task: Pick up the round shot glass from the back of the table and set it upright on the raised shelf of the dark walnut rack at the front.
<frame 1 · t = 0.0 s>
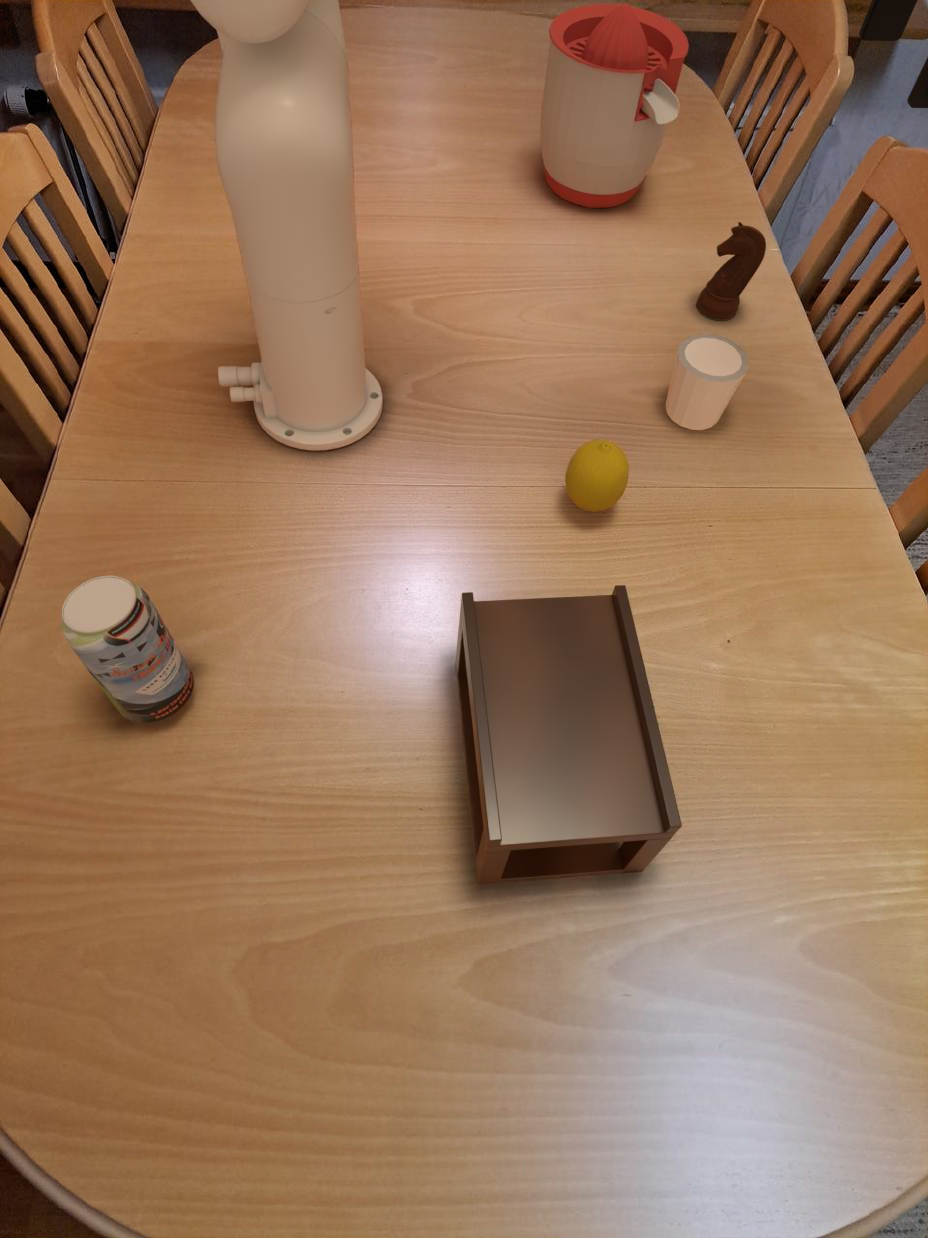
hand: (902, 70, 60), 31 cm above the table, tool pointing down, fingers open, 9 cm apart
citrus juicer: (595, 188, 106), on the table
lemon: (588, 506, 78), on the table
chess piece: (718, 309, 94), on the table
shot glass: (691, 411, 85), on the table
beverage can: (153, 691, 65), on the table
rack: (542, 760, 64), on the table
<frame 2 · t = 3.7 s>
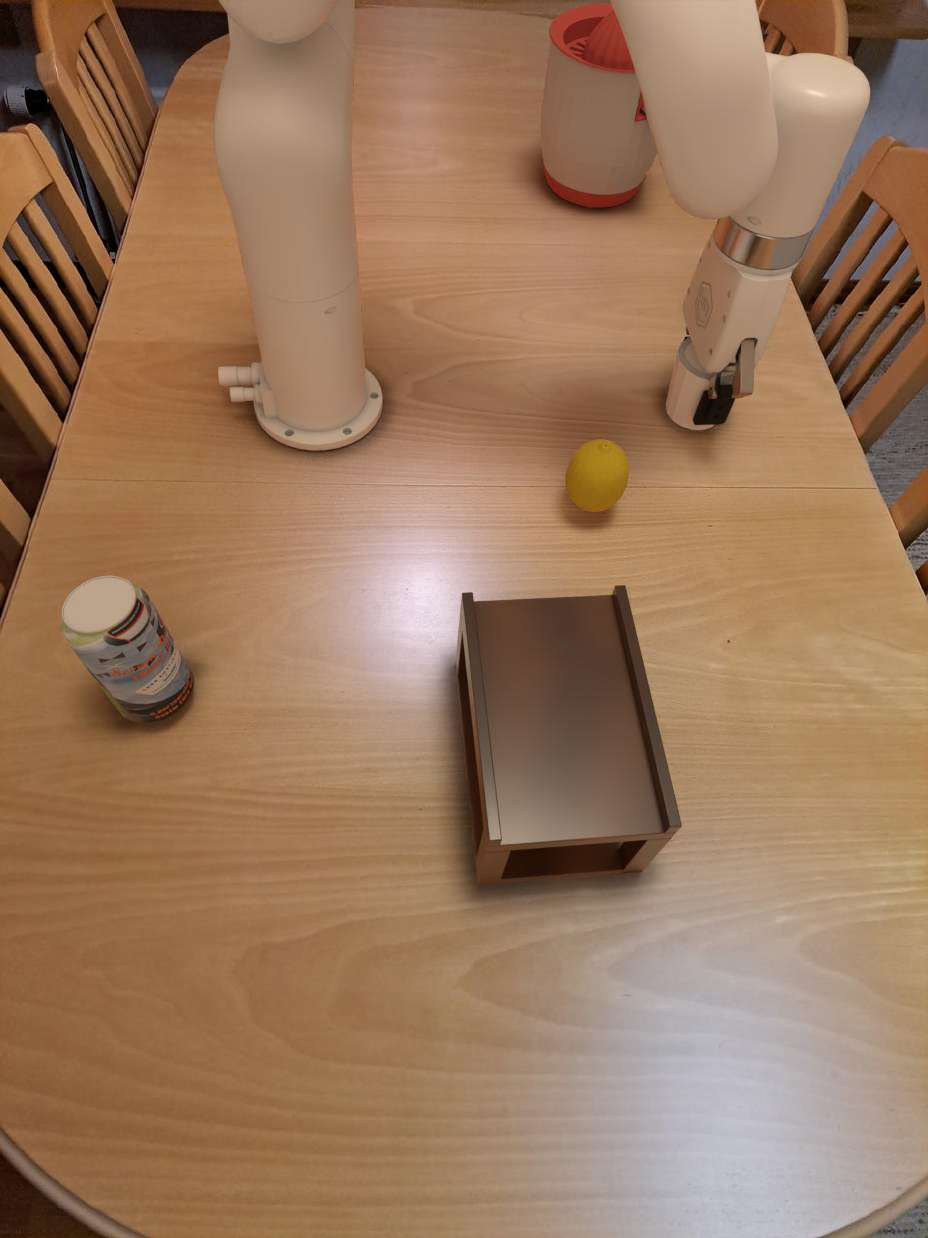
hand: (698, 394, 83), 2 cm above the table, tool pointing down, fingers closed on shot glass, 6 cm apart
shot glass: (692, 411, 85), on the table, touching gripper
everything else where it was.
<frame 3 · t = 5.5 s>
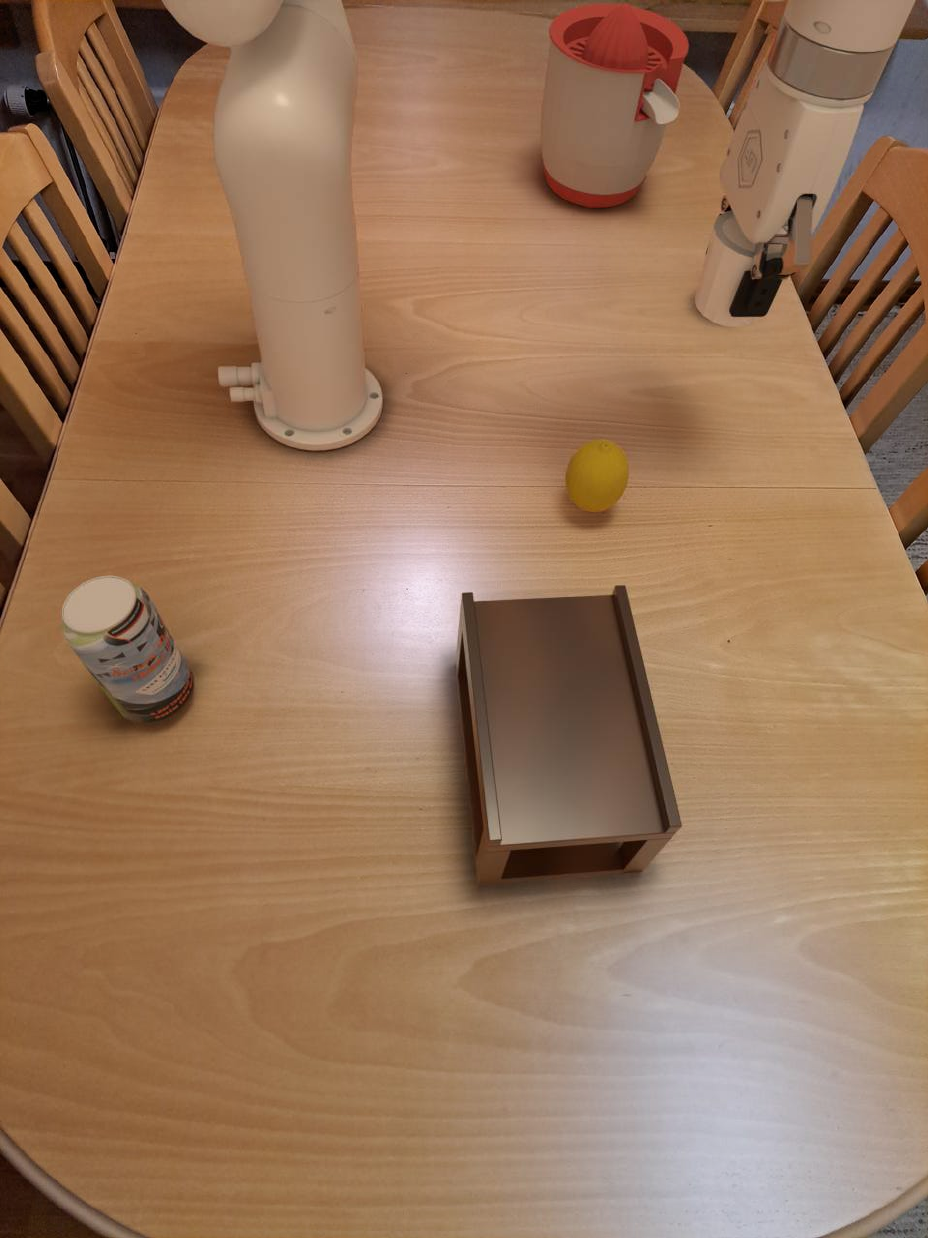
hand: (734, 284, 71), 16 cm above the table, tool pointing down, fingers closed on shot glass, 6 cm apart
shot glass: (725, 307, 73), point 13 cm above the table, touching gripper
everything else where it was.
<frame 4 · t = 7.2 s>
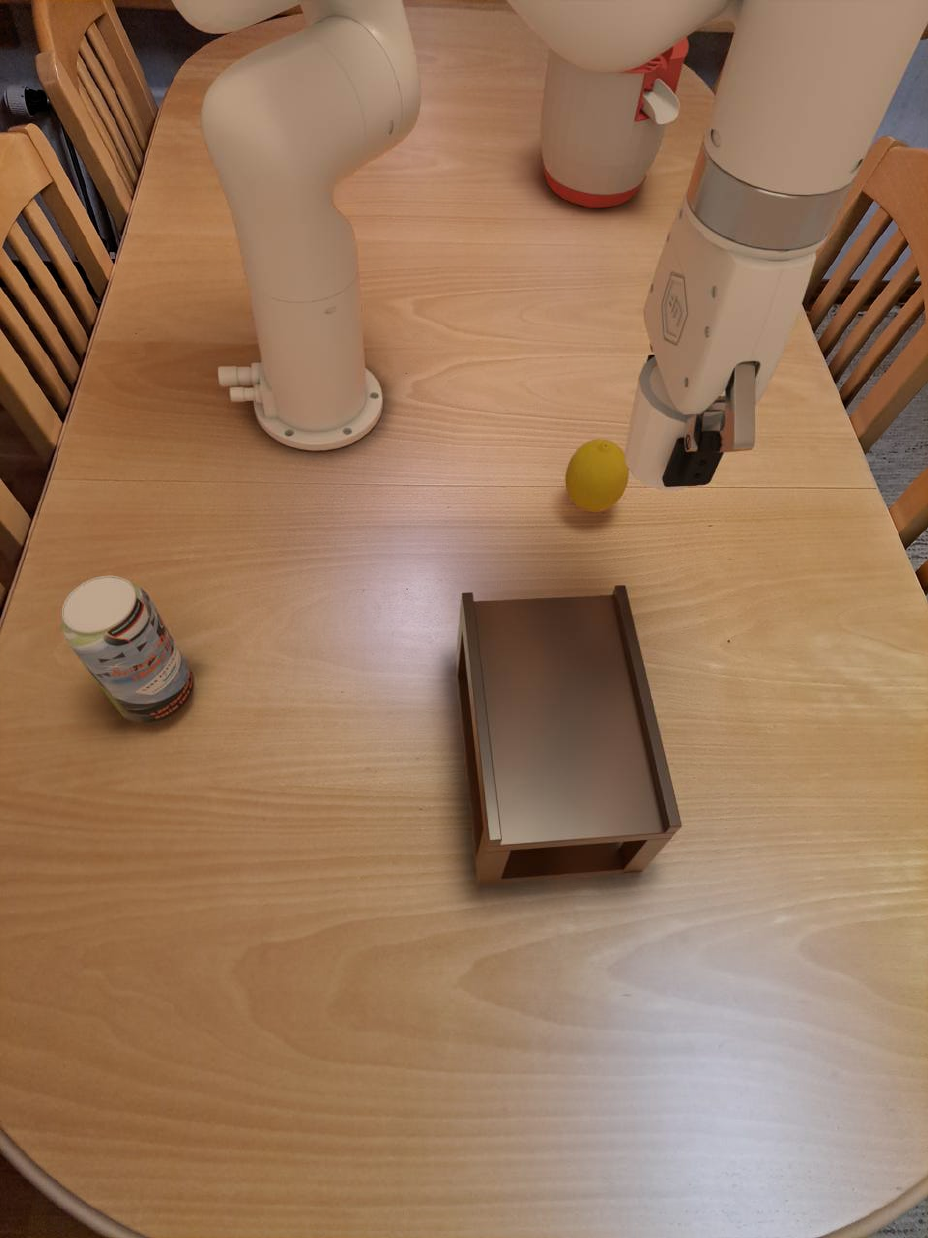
hand: (671, 439, 57), 19 cm above the table, tool pointing down, fingers closed on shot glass, 6 cm apart
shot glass: (662, 462, 59), point 16 cm above the table, touching gripper
everything else where it was.
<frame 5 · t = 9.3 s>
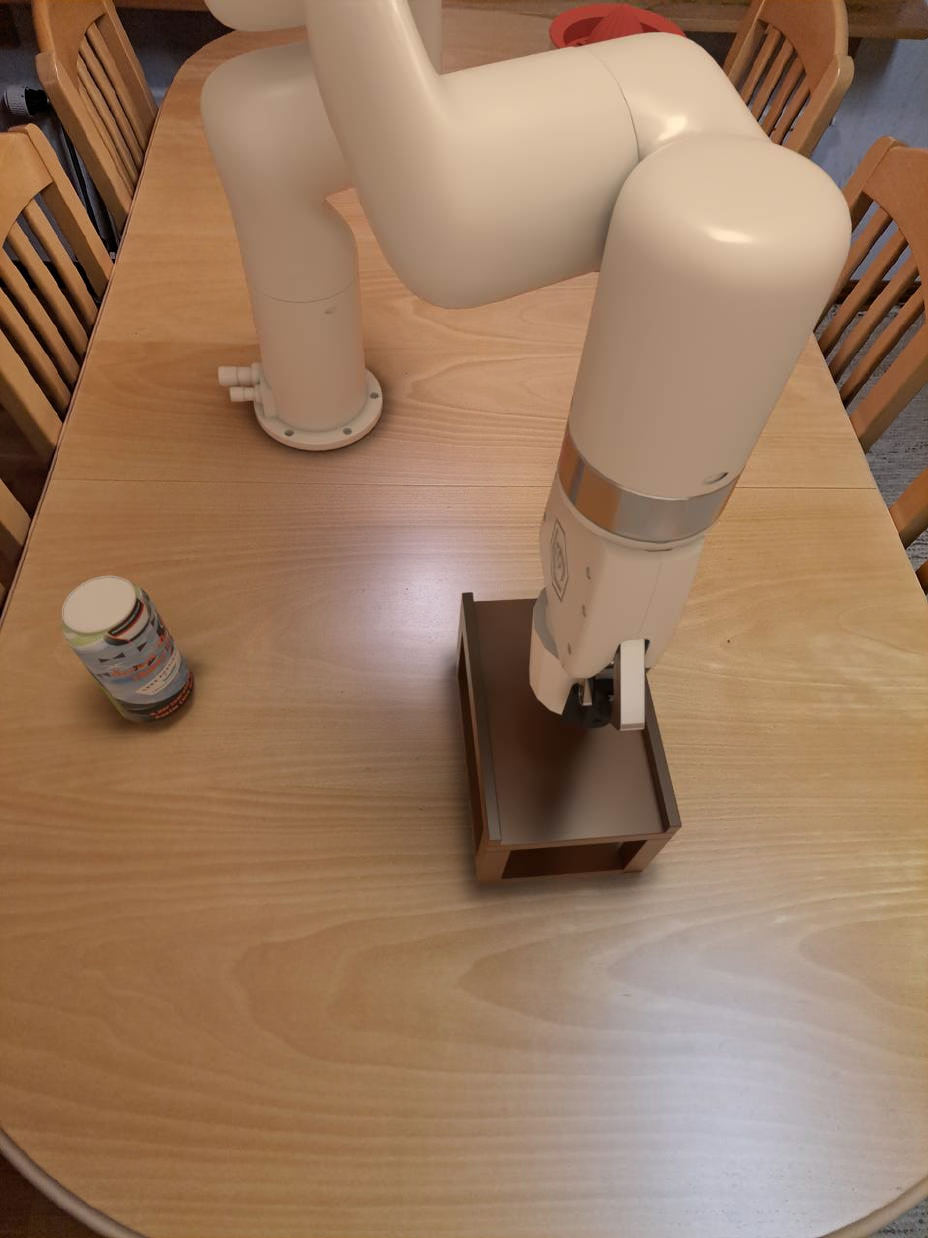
hand: (577, 661, 50), 16 cm above the table, tool pointing down, fingers closed on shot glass, 6 cm apart
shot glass: (572, 679, 52), point 13 cm above the table, touching gripper
everything else where it was.
when the fingers open (11 cm above the table, at t = 11.0 s): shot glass stays where it is, resting on rack.
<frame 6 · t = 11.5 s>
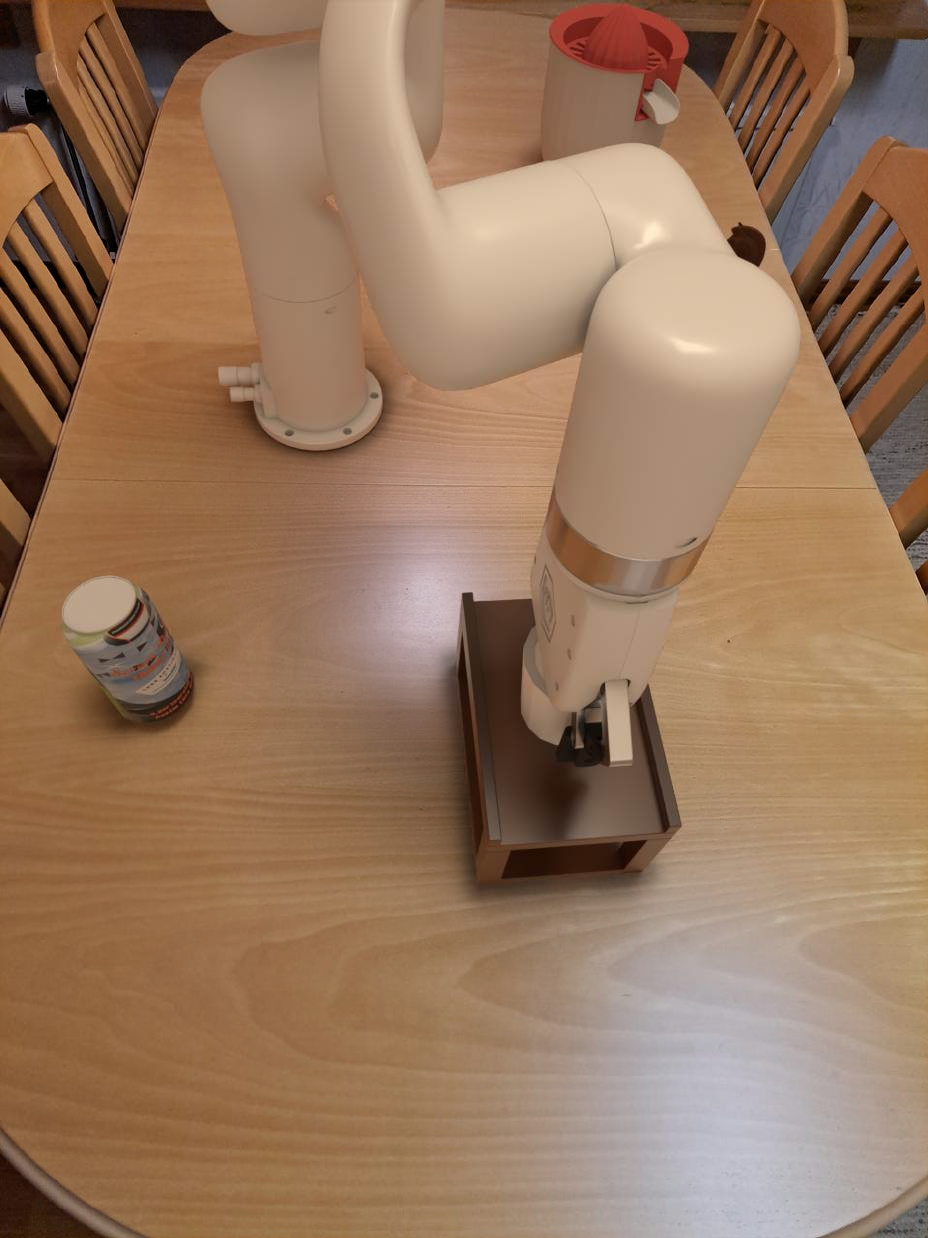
hand: (568, 686, 53), 12 cm above the table, tool pointing down, fingers open, 9 cm apart
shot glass: (561, 708, 56), point 9 cm above the table, touching rack
everything else where it was.
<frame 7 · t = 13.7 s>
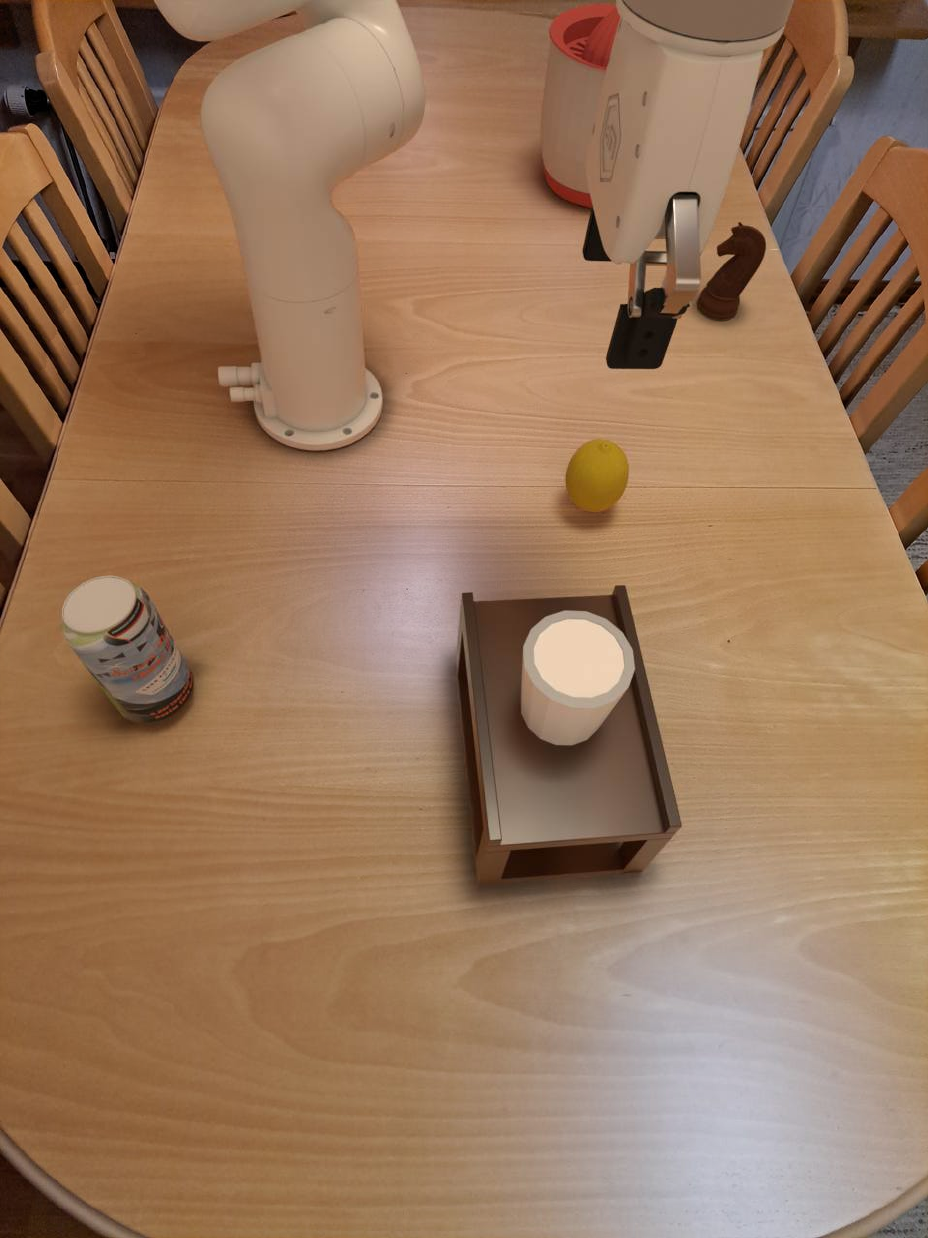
hand: (618, 309, 50), 27 cm above the table, tool pointing down, fingers open, 9 cm apart
nothing on the table moved.
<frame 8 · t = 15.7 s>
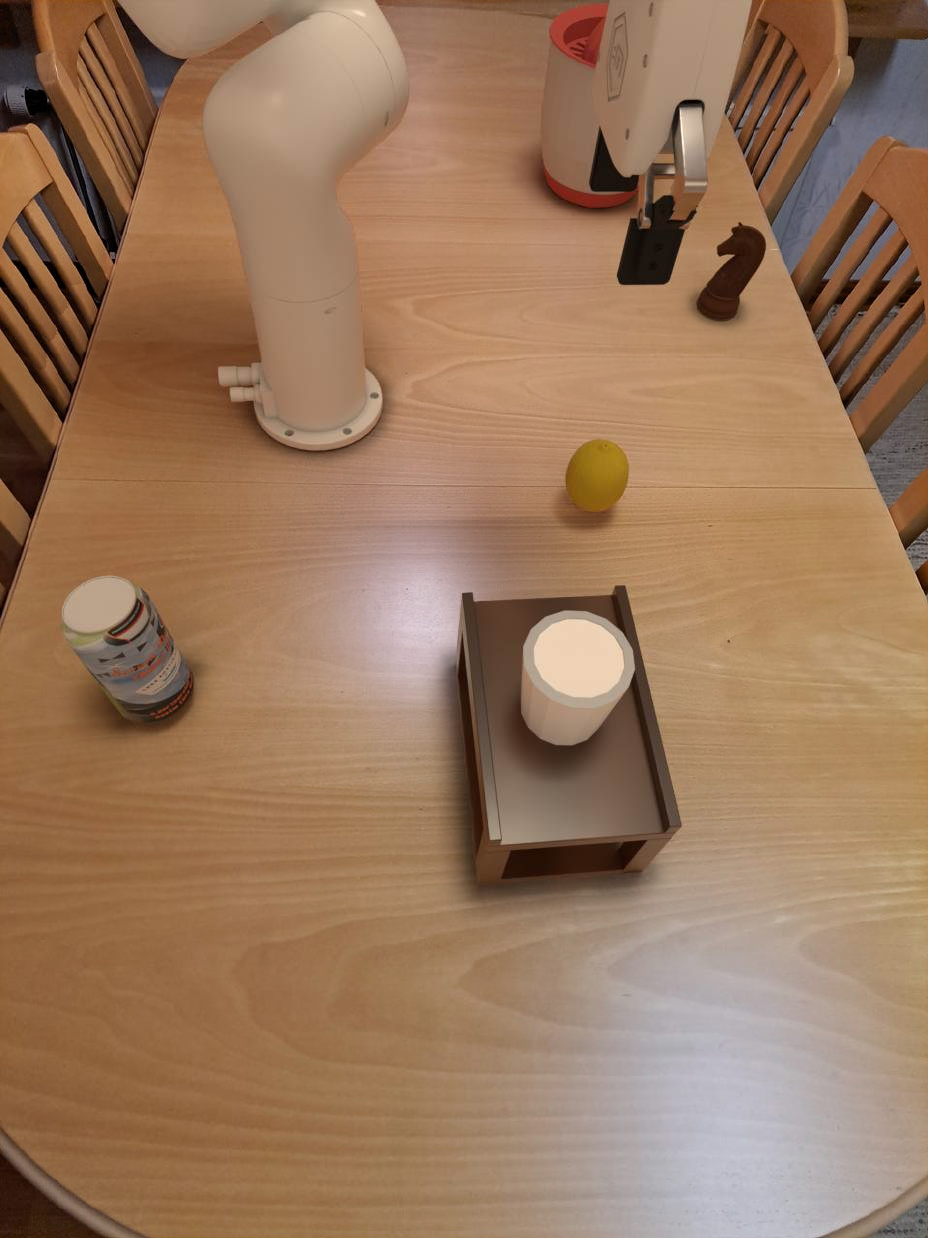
hand: (626, 233, 53), 28 cm above the table, tool pointing down, fingers open, 9 cm apart
nothing on the table moved.
at the end: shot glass inside the target area on the rack (0.1 cm from its centre), point 9.0 cm above the rack's base; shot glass tilted 0°; the gripper is holding nothing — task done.
